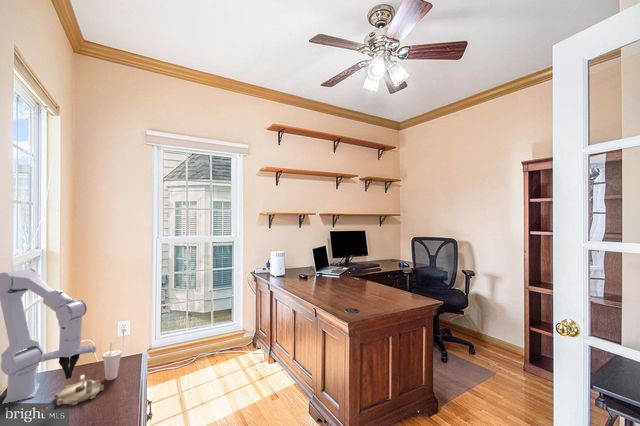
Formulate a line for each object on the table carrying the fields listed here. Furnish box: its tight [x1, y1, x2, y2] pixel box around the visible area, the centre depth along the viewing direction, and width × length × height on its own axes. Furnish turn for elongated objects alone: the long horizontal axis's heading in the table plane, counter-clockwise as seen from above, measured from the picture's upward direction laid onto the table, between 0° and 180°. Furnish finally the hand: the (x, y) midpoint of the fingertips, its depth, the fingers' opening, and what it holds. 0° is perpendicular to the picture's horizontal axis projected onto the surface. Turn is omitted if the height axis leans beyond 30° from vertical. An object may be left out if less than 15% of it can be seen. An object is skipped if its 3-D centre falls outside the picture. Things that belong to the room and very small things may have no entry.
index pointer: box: [79, 374, 86, 382], centre depth 116 cm, size 3×1×2 cm, turn 34°
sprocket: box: [54, 379, 105, 406], centre depth 109 cm, size 14×14×6 cm
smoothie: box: [102, 342, 123, 381], centre depth 120 cm, size 6×6×14 cm
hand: (68, 377), depth 104 cm, fingers closed
